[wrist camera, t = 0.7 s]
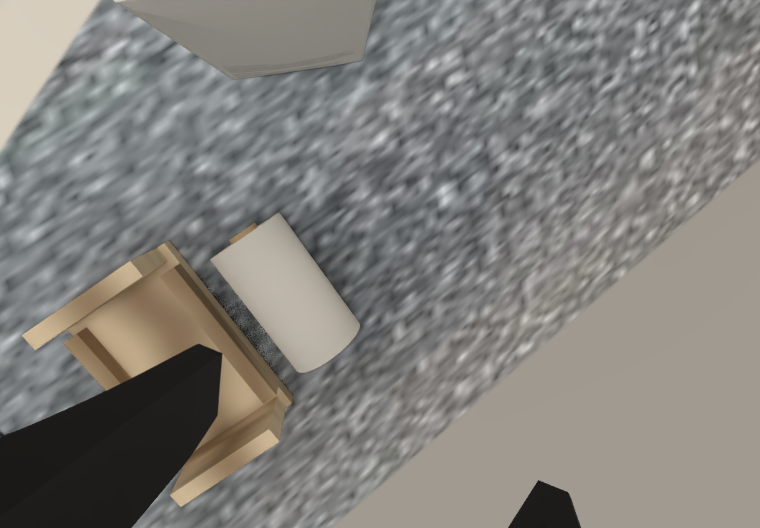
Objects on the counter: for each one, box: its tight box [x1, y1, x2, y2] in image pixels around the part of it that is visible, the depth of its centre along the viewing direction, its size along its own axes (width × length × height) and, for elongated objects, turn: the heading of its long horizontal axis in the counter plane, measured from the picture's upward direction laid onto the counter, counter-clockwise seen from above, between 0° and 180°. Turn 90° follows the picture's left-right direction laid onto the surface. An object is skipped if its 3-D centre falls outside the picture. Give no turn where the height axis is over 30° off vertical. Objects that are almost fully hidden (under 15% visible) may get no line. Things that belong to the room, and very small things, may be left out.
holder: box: [22, 241, 293, 507], centre depth 29 cm, size 8×13×5 cm, turn 34°
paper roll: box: [210, 212, 360, 373], centre depth 29 cm, size 9×5×5 cm, turn 34°
